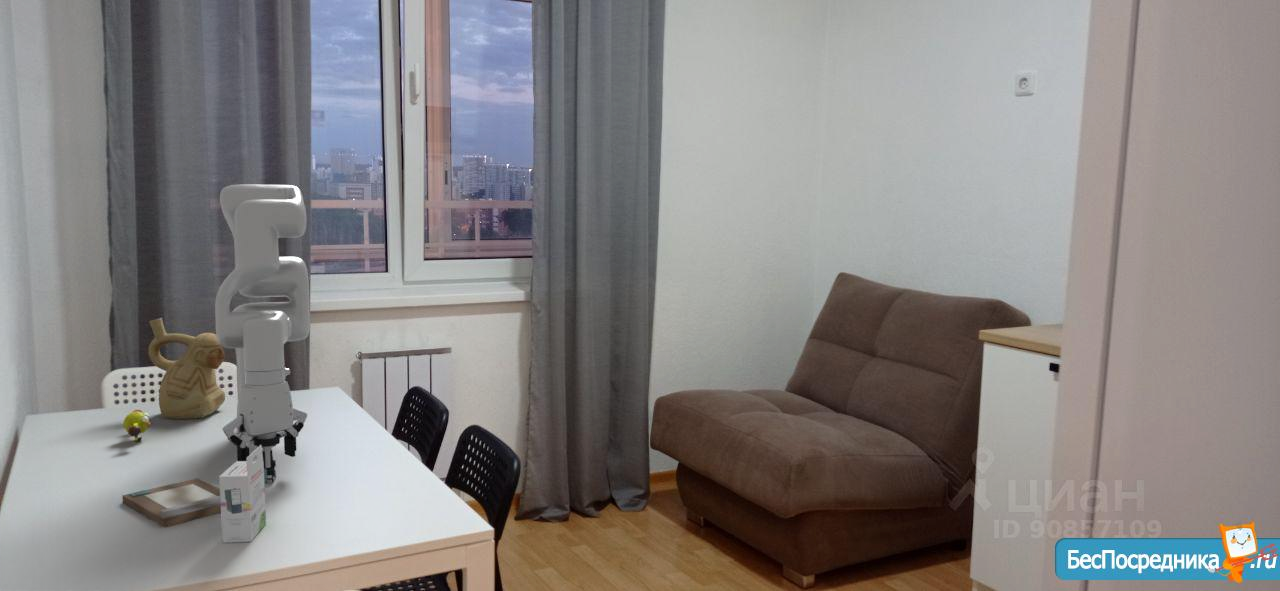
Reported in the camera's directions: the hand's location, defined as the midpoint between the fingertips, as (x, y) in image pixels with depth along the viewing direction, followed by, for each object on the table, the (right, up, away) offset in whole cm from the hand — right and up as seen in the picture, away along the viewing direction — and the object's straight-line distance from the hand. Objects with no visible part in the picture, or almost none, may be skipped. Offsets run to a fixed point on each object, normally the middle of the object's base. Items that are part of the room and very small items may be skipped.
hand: (267, 460), depth 187 cm
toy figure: (-41, 0, +28) cm, 50 cm away
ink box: (+7, -8, -27) cm, 29 cm away
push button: (0, -4, +1) cm, 4 cm away
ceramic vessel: (-41, +3, +53) cm, 67 cm away
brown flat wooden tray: (-10, -6, -14) cm, 18 cm away
